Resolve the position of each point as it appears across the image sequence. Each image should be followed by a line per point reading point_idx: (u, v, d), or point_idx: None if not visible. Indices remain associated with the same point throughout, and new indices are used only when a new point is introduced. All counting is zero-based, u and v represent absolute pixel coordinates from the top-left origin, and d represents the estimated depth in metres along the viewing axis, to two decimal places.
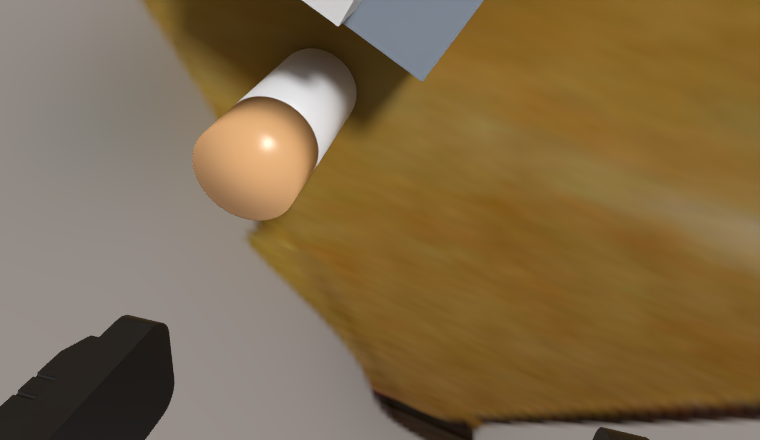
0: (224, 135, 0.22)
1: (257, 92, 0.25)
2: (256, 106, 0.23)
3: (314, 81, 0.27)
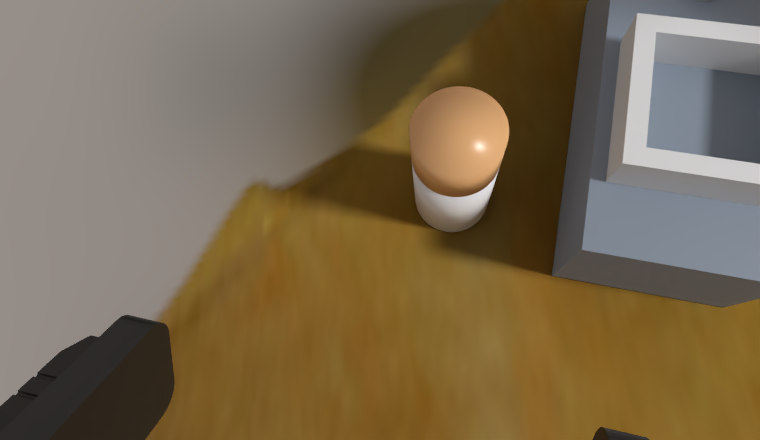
0: (488, 106, 0.26)
1: None
2: None
3: None
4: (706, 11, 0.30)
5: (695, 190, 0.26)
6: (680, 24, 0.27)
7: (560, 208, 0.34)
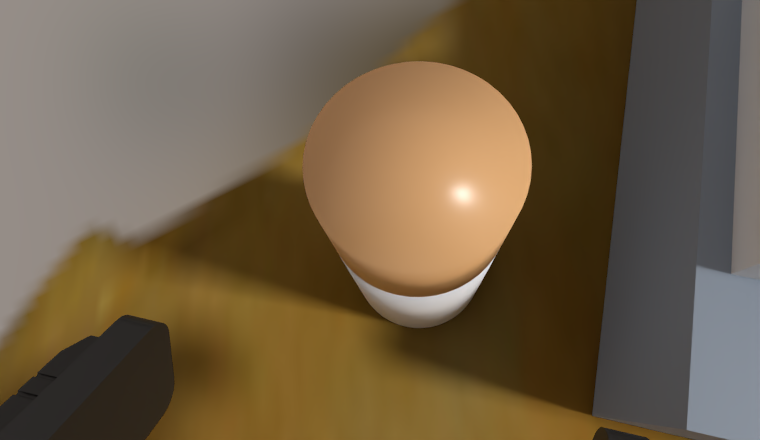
0: (484, 107, 0.11)
1: None
2: None
3: None
4: None
5: None
6: None
7: (605, 291, 0.20)
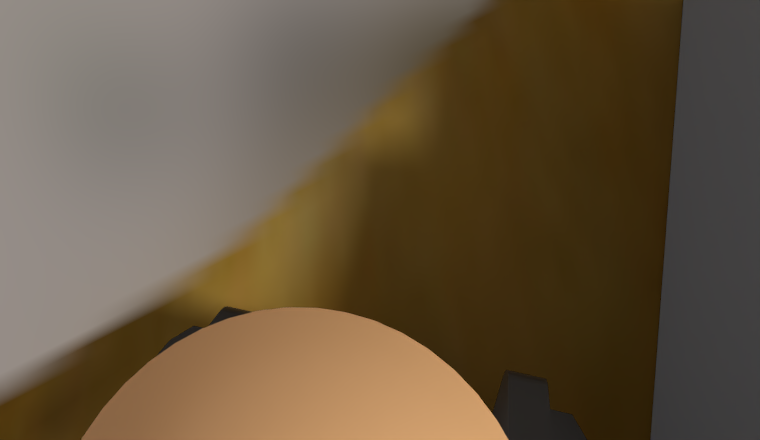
0: (441, 432, 0.05)
1: None
2: None
3: None
4: None
5: None
6: None
7: None
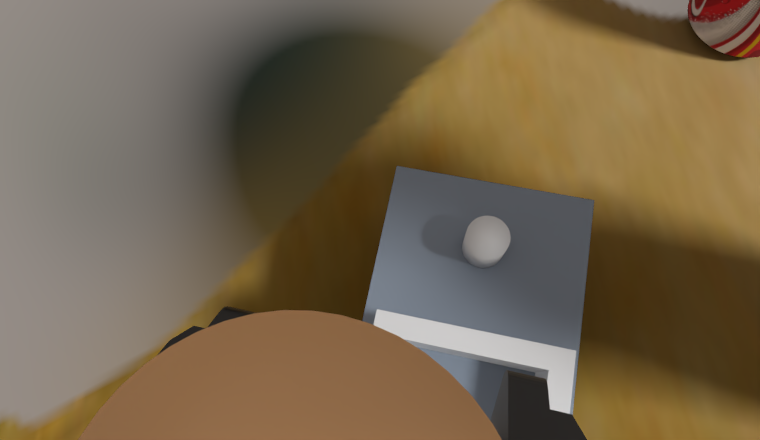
0: (437, 436, 0.05)
1: None
2: None
3: None
4: (480, 280, 0.26)
5: None
6: (423, 328, 0.23)
7: None
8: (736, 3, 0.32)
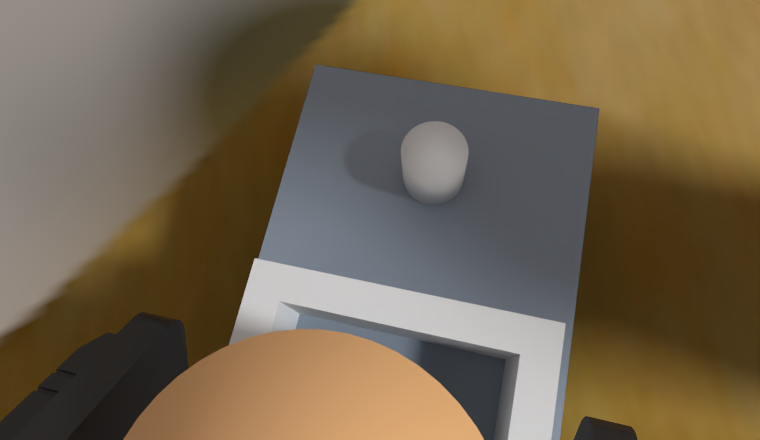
0: (429, 437, 0.06)
1: None
2: None
3: None
4: (428, 223, 0.17)
5: None
6: (324, 288, 0.14)
7: None
8: None
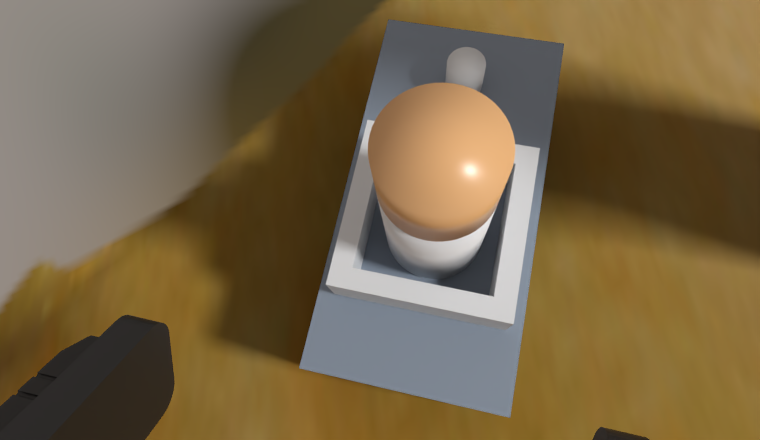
0: (484, 112, 0.18)
1: None
2: None
3: None
4: None
5: (414, 309, 0.25)
6: None
7: None
8: None
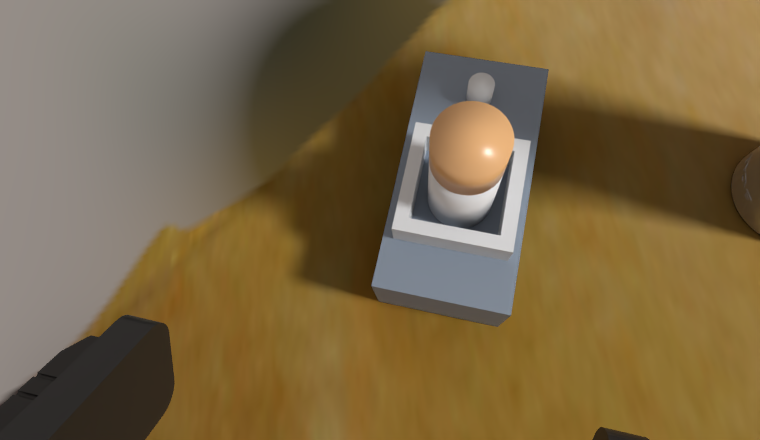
0: (496, 118, 0.31)
1: None
2: None
3: None
4: None
5: (448, 246, 0.38)
6: None
7: None
8: None
